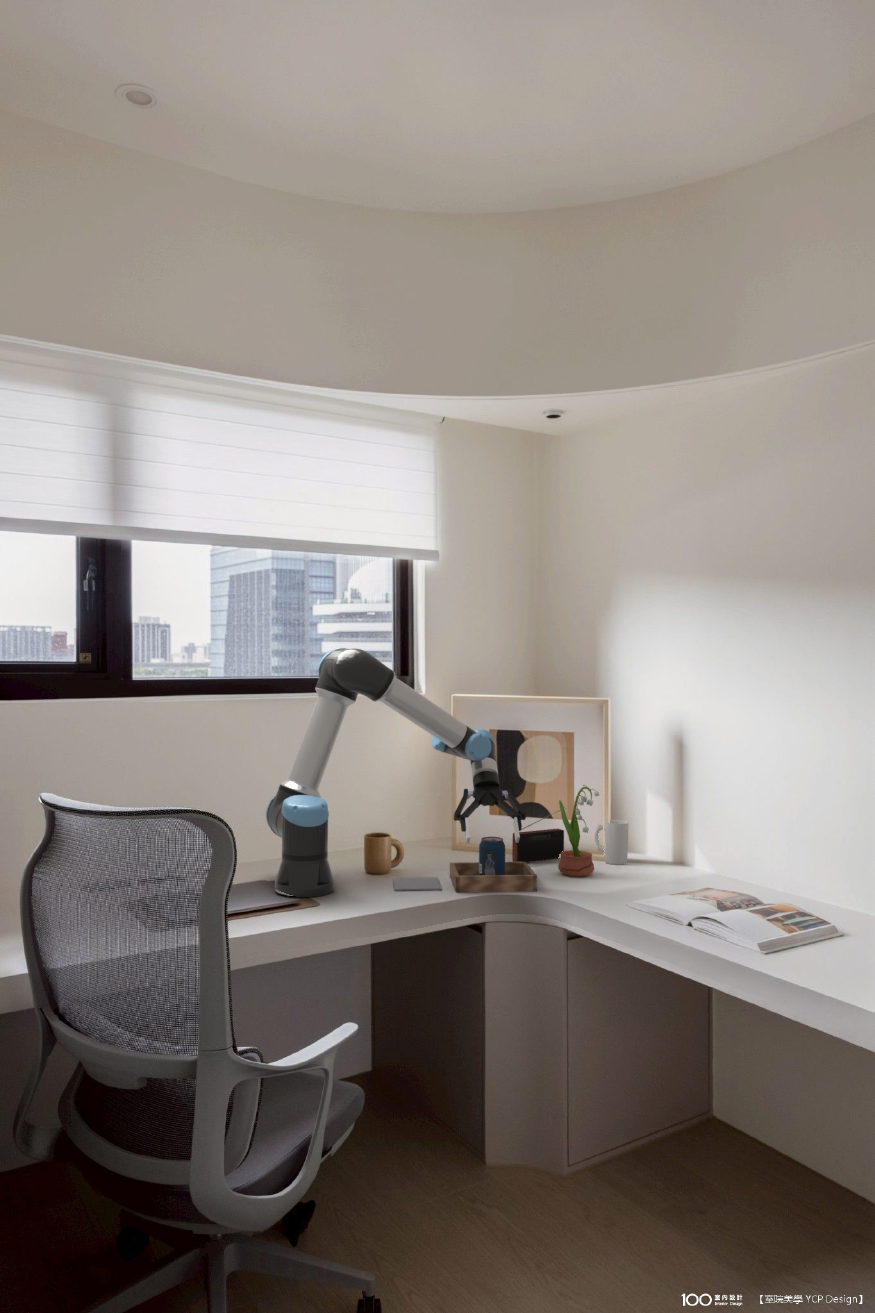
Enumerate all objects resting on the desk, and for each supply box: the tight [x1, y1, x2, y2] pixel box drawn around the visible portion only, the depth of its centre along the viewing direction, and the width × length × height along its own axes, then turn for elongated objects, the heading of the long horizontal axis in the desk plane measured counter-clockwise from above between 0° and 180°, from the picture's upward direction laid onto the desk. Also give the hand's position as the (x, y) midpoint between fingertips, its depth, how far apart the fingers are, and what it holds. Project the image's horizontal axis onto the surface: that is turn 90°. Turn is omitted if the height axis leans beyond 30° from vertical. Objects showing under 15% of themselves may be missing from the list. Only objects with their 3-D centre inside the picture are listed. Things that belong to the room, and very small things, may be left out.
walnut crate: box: [449, 861, 538, 893], centre depth 241 cm, size 21×16×4 cm
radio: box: [511, 809, 565, 863], centre depth 270 cm, size 19×3×15 cm, turn 118°
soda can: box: [478, 836, 506, 875], centre depth 241 cm, size 7×7×12 cm
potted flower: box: [557, 784, 600, 878], centre depth 253 cm, size 12×10×25 cm
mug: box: [594, 819, 629, 866], centre depth 268 cm, size 10×7×12 cm, turn 61°
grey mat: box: [392, 876, 442, 892], centre depth 239 cm, size 12×12×1 cm
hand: (493, 840), depth 247 cm, fingers open, 13 cm apart
